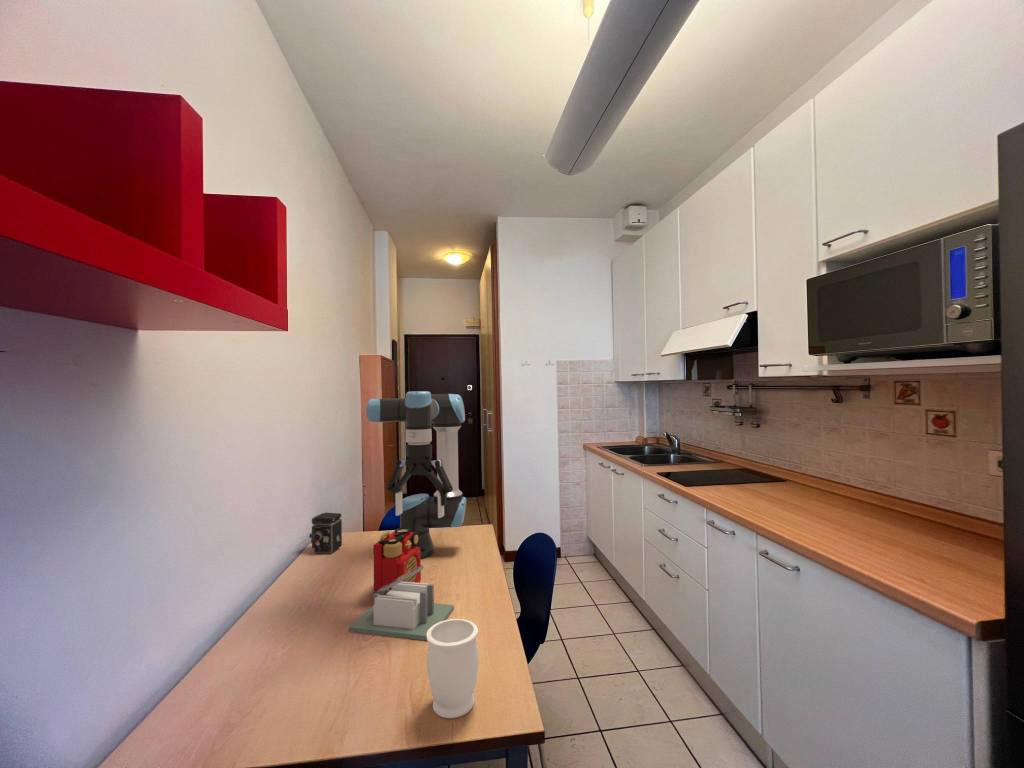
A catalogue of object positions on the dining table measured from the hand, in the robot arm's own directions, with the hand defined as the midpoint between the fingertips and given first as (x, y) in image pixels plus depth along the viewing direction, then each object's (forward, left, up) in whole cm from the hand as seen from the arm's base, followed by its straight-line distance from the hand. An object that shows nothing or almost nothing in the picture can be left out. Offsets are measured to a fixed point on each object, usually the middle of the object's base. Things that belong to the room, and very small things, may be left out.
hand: (419, 515), depth 126 cm
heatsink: (+4, -4, -29) cm, 29 cm away
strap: (+4, -4, -19) cm, 19 cm away
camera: (-41, -62, -29) cm, 80 cm away
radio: (-12, -14, -29) cm, 34 cm away
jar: (+33, +22, -29) cm, 49 cm away
